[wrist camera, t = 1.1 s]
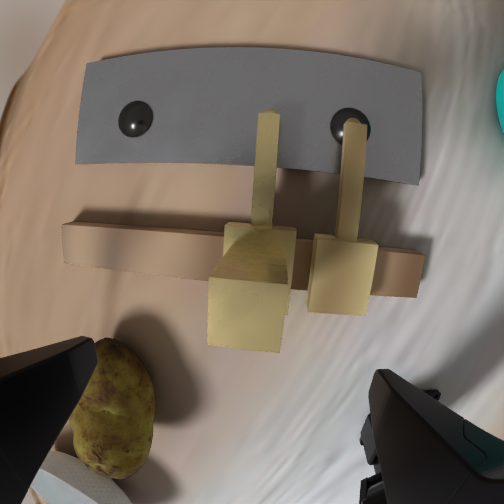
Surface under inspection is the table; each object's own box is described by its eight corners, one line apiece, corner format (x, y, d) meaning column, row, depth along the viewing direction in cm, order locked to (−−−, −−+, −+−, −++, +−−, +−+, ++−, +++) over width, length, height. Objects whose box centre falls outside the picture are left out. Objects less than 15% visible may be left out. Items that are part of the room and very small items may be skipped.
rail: (428, 138, 18) (450, 133, 15) (406, 299, 21) (424, 317, 18) (76, 121, 20) (50, 116, 17) (75, 266, 23) (51, 278, 20)
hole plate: (415, 76, 17) (422, 72, 16) (412, 184, 19) (419, 185, 18) (93, 66, 19) (85, 63, 18) (82, 164, 21) (74, 164, 20)
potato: (193, 367, 24) (161, 435, 16) (152, 445, 27) (126, 500, 19) (105, 318, 24) (50, 367, 16) (84, 407, 27) (48, 454, 19)
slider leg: (303, 113, 17) (318, 71, 10) (287, 302, 20) (288, 373, 13) (237, 108, 18) (209, 65, 10) (226, 296, 21) (196, 362, 13)
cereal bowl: (46, 414, 28) (17, 447, 22) (161, 484, 29) (144, 526, 22) (42, 462, 33) (23, 488, 26) (130, 515, 33) (116, 545, 26)
